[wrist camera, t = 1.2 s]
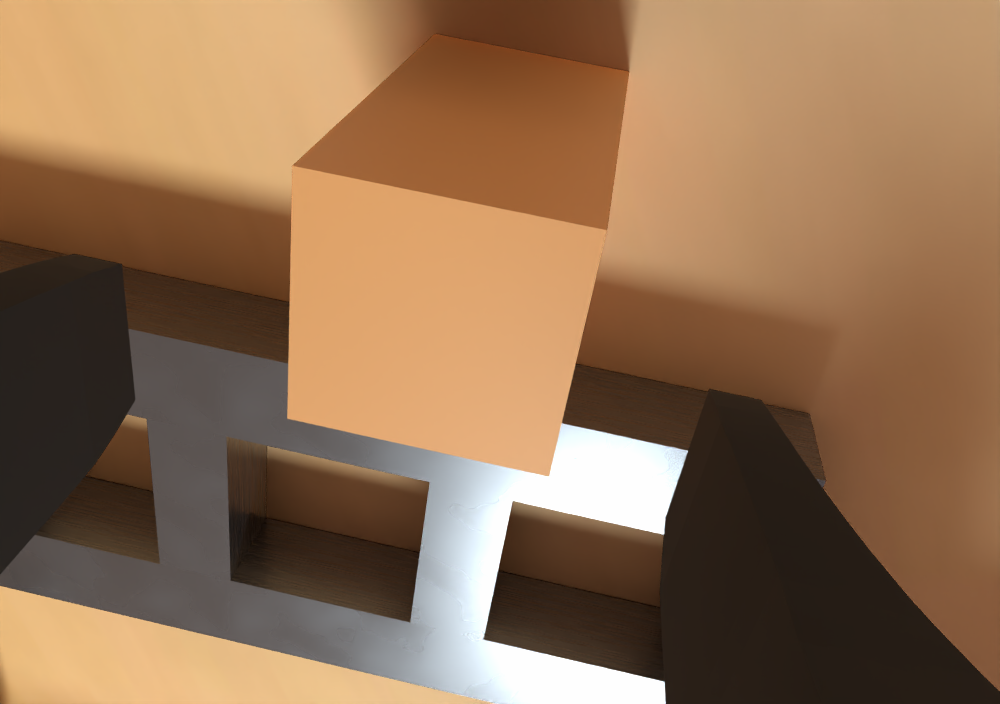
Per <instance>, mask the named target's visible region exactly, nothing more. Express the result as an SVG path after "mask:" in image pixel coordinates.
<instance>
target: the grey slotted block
mask: <svg viewBox="0 0 1000 704" xmlns="http://www.w3.org/2000/svg"><path fill="white" fill-rule="evenodd" d="M62 256H67V255H65V254H60V253H56V252H51V251H46V250H42V249H37V248H32V247H28V246H23V245H18V244H14V243H9V242H4V241H0V273H1V272H4V271H8V270H11V269H15V268H18V267H22V266H25V265H29V264H33V263H36V262H40V261H44V260H48V259H52V258H57V257H62ZM122 270H123V280H124V290H125V300H126V310H127V320H128V330H129V340H130V350H131V360H132V370H133V380H134V390H135V402H134V403H133V405H132V406H131V408H130V410H129V411H128V413H127V414H128V415H132V416H137V417H141V418H146V419H147V427H148V438H149V449H150V461H151V472H152V483H153V492H151V491H146V490H142V489H138V488H133V487H129V486H125V485H120V484H116V483H111V482H107V481H103V480H98V479H94V478H90V477H84V478H83V479H82V480H81V482H80V483H79V484H78V485H77V486H76V488H75V489H74V490H73V491H72V492H71V493H70V495H69V496H68V497H67V498H66V499H65V500H64V502H63V503H62V504H61V505H60V506H59V508H58V509H57V510H56V511H55V512H54V513H53V515H52V516H51V517H50V518H49V519H48V520H47V521H46V523H45V524H44V525H43V526H42V527H41V528H40V529H39V531H38V532H37V533H36V534H35V535H34V536H33V538H32V539H31V540H30V541H29V542H28V543H27V544H26V546H25V547H24V548H23V549H22V550H21V551H20V553H19V554H18V555H17V556H16V557H15V558H14V559H13V561H12V562H11V563H10V564H9V565H8V566H7V567H6V569H5V570H4V571H3V572H2V573H1V574H0V586H3V587H7V588H12V589H16V590H20V591H24V592H29V593H33V594H37V595H41V596H45V597H50V598H54V599H58V600H62V601H66V602H71V603H75V604H79V605H83V606H87V607H92V608H96V609H100V610H104V611H108V612H113V613H117V614H121V615H125V616H129V617H134V618H138V619H142V620H146V621H151V622H155V623H159V624H163V625H167V626H172V627H176V628H180V629H184V630H188V631H193V632H197V633H201V634H205V635H209V636H214V637H218V638H222V639H226V640H230V641H235V642H239V643H243V644H247V645H251V646H256V647H260V648H264V649H268V650H273V651H277V652H281V653H285V654H289V655H294V656H298V657H302V658H306V659H310V660H315V661H319V662H323V663H327V664H331V665H336V666H340V667H344V668H348V669H352V670H357V671H361V672H365V673H369V674H373V675H378V676H382V677H386V678H390V679H394V680H399V681H403V682H407V683H411V684H416V685H420V686H424V687H428V688H432V689H437V690H441V691H445V692H449V693H453V694H458V695H462V696H466V697H470V698H474V699H479V700H483V701H487V702H491V703H495V704H666V702H665V685H664V667H663V649H662V629H661V609H660V608H657V607H653V606H649V605H644V604H640V603H636V602H631V601H627V600H622V599H618V598H614V597H609V596H605V595H601V594H596V593H592V592H588V591H583V590H579V589H574V588H570V587H566V586H561V585H557V584H553V583H548V582H544V581H539V580H535V579H531V578H526V577H522V576H518V575H513V574H509V573H505V572H500V571H499V566H500V561H501V556H502V552H503V547H504V542H505V537H506V533H507V528H508V523H509V518H510V514H511V509H512V504H513V501H516V502H521V503H525V504H530V505H534V506H538V507H543V508H547V509H552V510H556V511H561V512H565V513H570V514H574V515H579V516H583V517H588V518H592V519H596V520H601V521H605V522H610V523H614V524H619V525H623V526H628V527H632V528H637V529H641V530H646V531H650V532H654V533H659V534H663V535H664V528H665V517H666V514H667V511H668V508H669V505H670V502H671V499H672V496H673V493H674V491H675V488H676V485H677V482H678V479H679V476H680V473H681V470H682V467H683V464H684V461H685V458H686V455H687V452H688V449H689V447H690V444H691V441H692V438H693V435H694V432H695V429H696V426H697V423H698V420H699V417H700V414H701V411H702V408H703V406H704V403H705V400H706V397H707V394H708V392H705V391H700V390H695V389H691V388H686V387H681V386H677V385H672V384H667V383H663V382H658V381H653V380H649V379H644V378H639V377H635V376H630V375H625V374H621V373H616V372H611V371H607V370H602V369H597V368H593V367H588V366H583V365H579V364H575V369H574V373H573V377H572V381H571V386H570V390H569V394H568V398H567V403H566V407H565V411H564V415H563V420H562V424H561V428H560V432H559V436H558V441H557V445H556V449H555V453H554V458H553V462H552V466H551V470H550V475H549V477H548V476H543V475H539V474H534V473H530V472H525V471H521V470H516V469H512V468H507V467H503V466H498V465H494V464H489V463H485V462H480V461H476V460H471V459H467V458H462V457H458V456H453V455H449V454H444V453H440V452H435V451H431V450H426V449H422V448H417V447H413V446H408V445H404V444H399V443H395V442H390V441H386V440H381V439H377V438H372V437H368V436H363V435H359V434H354V433H350V432H345V431H341V430H336V429H332V428H327V427H323V426H318V425H314V424H309V423H305V422H300V421H296V420H291V419H287V409H288V358H289V308H290V303H289V302H284V301H280V300H275V299H270V298H266V297H261V296H256V295H252V294H247V293H242V292H238V291H233V290H228V289H224V288H219V287H214V286H210V285H205V284H200V283H196V282H191V281H186V280H182V279H177V278H172V277H168V276H163V275H158V274H154V273H149V272H144V271H140V270H135V269H130V268H126V267H122ZM765 406H766V407H767V409H768V410H769V411H770V413H771V414H772V416H773V417H774V419H775V420H776V422H777V423H778V424H779V426H780V427H781V429H782V430H783V432H784V433H785V435H786V436H787V438H788V439H789V441H790V442H791V444H792V445H793V446H794V448H795V449H796V451H797V452H798V454H799V455H800V457H801V458H802V460H803V461H804V462H805V464H806V465H807V467H808V468H809V470H810V471H811V473H812V474H813V475H814V477H815V478H816V480H817V481H818V482H819V484H820V485H821V487H822V488H823V487H824V484H825V482H826V479H825V475H824V471H823V466H822V462H821V458H820V454H819V450H818V446H817V442H816V438H815V434H814V430H813V426H812V422H811V418H810V414H807V413H803V412H798V411H793V410H789V409H784V408H779V407H775V406H770V405H765ZM267 446H271V447H275V448H280V449H284V450H289V451H293V452H297V453H302V454H306V455H311V456H315V457H320V458H324V459H329V460H333V461H338V462H342V463H347V464H351V465H355V466H360V467H364V468H369V469H373V470H378V471H382V472H387V473H391V474H396V475H400V476H405V477H409V478H413V479H418V480H422V481H427V482H430V483H429V490H428V498H427V505H426V512H425V519H424V527H423V534H422V541H421V548H420V553H417V552H413V551H408V550H404V549H400V548H395V547H391V546H387V545H382V544H378V543H374V542H369V541H365V540H360V539H356V538H352V537H347V536H343V535H339V534H334V533H330V532H325V531H321V530H317V529H312V528H308V527H304V526H299V525H295V524H291V523H286V522H282V521H277V520H273V519H269V518H266V458H267Z"/></svg>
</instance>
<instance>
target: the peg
mask: <svg viewBox="0 0 1000 704" xmlns="http://www.w3.org/2000/svg"><path fill="white" fill-rule="evenodd" d="M628 77H629V71H624V70H619V69H613V68H608V67H603V66H598V65H593V64H588V63H583V62H577V61H572V60H567V59H562V58H557V57H552V56H547V55H541V54H536V53H531V52H526V51H521V50H516V49H511V48H505V47H500V46H495V45H490V44H485V43H480V42H475V41H469V40H464V39H459V38H454V37H449V36H444V35H439V34H434V35H433V36H432V37H431V38H430V39H429V40H428V41H427V42H426V43H424V44H423V45H422V46H421V47H420V48H419V49H418V50H417V51H416V52H415V53H414V54H413V55H411V56H410V57H409V58H408V59H407V60H406V61H405V62H404V63H403V64H402V65H401V66H400V67H399V68H397V69H396V70H395V71H394V72H393V73H392V74H391V75H390V76H389V77H388V78H387V79H386V80H384V81H383V82H382V83H381V84H380V85H379V86H378V87H377V88H376V89H375V90H374V91H373V92H371V93H370V94H369V95H368V96H367V97H366V98H365V99H364V100H363V101H362V102H361V103H360V104H359V105H357V106H356V107H355V108H354V109H353V110H352V111H351V112H350V113H349V114H348V115H347V116H346V117H344V118H343V119H342V120H341V121H340V122H339V123H338V124H337V125H336V126H335V127H334V128H333V129H332V130H330V131H329V132H328V133H327V134H326V135H325V136H324V137H323V138H322V139H321V140H320V141H319V142H317V143H316V144H315V145H314V146H313V147H312V148H311V149H310V150H309V151H308V152H307V153H306V154H305V155H303V156H302V157H301V158H300V159H299V160H298V161H297V162H296V163H295V164H294V165H293V166H292V207H291V257H290V308H289V358H288V409H287V419H291V420H296V421H300V422H305V423H309V424H314V425H318V426H323V427H327V428H332V429H336V430H341V431H345V432H350V433H354V434H359V435H363V436H368V437H372V438H377V439H381V440H386V441H390V442H395V443H399V444H404V445H408V446H413V447H417V448H422V449H426V450H431V451H435V452H440V453H444V454H449V455H453V456H458V457H462V458H467V459H471V460H476V461H480V462H485V463H489V464H494V465H498V466H503V467H507V468H512V469H516V470H521V471H525V472H530V473H534V474H539V475H543V476H548V477H549V475H550V470H551V466H552V462H553V458H554V453H555V449H556V445H557V441H558V436H559V432H560V428H561V424H562V420H563V415H564V411H565V407H566V403H567V398H568V394H569V390H570V386H571V381H572V377H573V373H574V369H575V364H576V360H577V356H578V352H579V347H580V343H581V339H582V335H583V331H584V326H585V322H586V318H587V314H588V309H589V305H590V301H591V297H592V292H593V288H594V284H595V280H596V275H597V271H598V267H599V263H600V258H601V254H602V250H603V246H604V241H605V237H606V233H607V228H608V220H609V213H610V206H611V199H612V192H613V185H614V177H615V170H616V163H617V156H618V149H619V141H620V134H621V127H622V120H623V113H624V105H625V98H626V91H627V84H628Z"/></svg>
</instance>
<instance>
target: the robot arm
mask: <svg viewBox="0 0 1000 704" xmlns="http://www.w3.org/2000/svg"><path fill="white" fill-rule="evenodd" d="M134 402H135V390H134V380H133V370H132V360H131V350H130V340H129V330H128V320H127V310H126V300H125V290H124V280H123V270H122V264H119V263H114V262H110V261H105V260H100V259H96V258H91V257H86V256H81V255H77V254H72V255H67V256H62V257H57V258H52V259H48V260H44V261H40V262H36V263H33V264H29V265H25V266H22V267H18V268H15V269H11V270H8V271H4V272H1V273H0V574H1V573H2V572H3V571H4V570H5V569H6V567H7V566H8V565H9V564H10V563H11V562H12V561H13V559H14V558H15V557H16V556H17V555H18V554H19V553H20V551H21V550H22V549H23V548H24V547H25V546H26V544H27V543H28V542H29V541H30V540H31V539H32V538H33V536H34V535H35V534H36V533H37V532H38V531H39V529H40V528H41V527H42V526H43V525H44V524H45V523H46V521H47V520H48V519H49V518H50V517H51V516H52V515H53V513H54V512H55V511H56V510H57V509H58V508H59V506H60V505H61V504H62V503H63V502H64V500H65V499H66V498H67V497H68V496H69V495H70V493H71V492H72V491H73V490H74V489H75V488H76V486H77V485H78V484H79V483H80V482H81V480H82V479H83V478H84V477H85V476H86V474H87V473H88V472H89V471H90V470H91V468H92V467H93V466H94V465H95V463H96V462H97V460H98V459H99V457H100V456H101V454H102V453H103V451H104V450H105V448H106V447H107V445H108V444H109V442H110V441H111V439H112V438H113V436H114V435H115V433H116V431H117V430H118V428H119V426H120V425H121V423H122V421H123V420H124V418H125V416H126V415H127V413H128V411H129V410H130V408H131V406H132V405H133V403H134ZM660 609H661V629H662V649H663V667H664V685H665V702H666V704H1000V691H998V690H997V689H996V688H995V687H994V686H993V685H992V684H991V683H990V682H989V681H988V680H987V679H986V678H985V677H984V676H983V675H982V674H981V673H980V672H979V671H978V670H977V669H976V668H975V667H974V666H973V665H972V664H971V663H970V662H969V661H968V660H967V659H966V658H965V656H964V655H963V654H962V653H961V652H960V651H959V650H958V649H957V648H956V647H955V646H954V645H953V644H952V643H951V642H950V641H949V640H948V639H947V638H946V637H945V636H944V635H943V634H942V633H941V632H940V631H939V630H938V629H937V628H936V627H935V626H934V624H933V623H932V622H931V621H930V620H929V619H928V618H927V617H926V616H925V615H924V613H923V612H922V611H921V610H920V609H919V608H918V607H917V606H916V605H915V604H914V602H913V601H912V600H911V599H910V598H909V597H908V596H907V594H906V593H905V592H904V591H903V590H902V588H901V587H900V586H899V585H898V584H897V582H896V581H895V580H894V579H893V578H892V576H891V575H890V574H889V573H888V572H887V571H886V569H885V568H884V567H883V566H882V565H881V563H880V562H879V561H878V560H877V559H876V557H875V556H874V555H873V554H872V553H871V551H870V550H869V549H868V548H867V546H866V545H865V544H864V542H863V541H862V540H861V539H860V537H859V536H858V535H857V534H856V532H855V531H854V530H853V528H852V527H851V526H850V524H849V523H848V522H847V521H846V519H845V518H844V517H843V515H842V514H841V513H840V511H839V510H838V509H837V507H836V506H835V504H834V503H833V502H832V500H831V499H830V498H829V496H828V495H827V494H826V492H825V491H824V489H823V488H822V487H821V485H820V484H819V482H818V481H817V480H816V478H815V477H814V475H813V474H812V473H811V471H810V470H809V468H808V467H807V465H806V464H805V462H804V461H803V460H802V458H801V457H800V455H799V454H798V452H797V451H796V449H795V448H794V446H793V445H792V444H791V442H790V441H789V439H788V438H787V436H786V435H785V433H784V432H783V430H782V429H781V427H780V426H779V424H778V423H777V422H776V420H775V419H774V417H773V416H772V414H771V413H770V411H769V410H768V409H767V407H766V406H765V404H764V403H763V402H762V400H759V399H754V398H749V397H745V396H740V395H735V394H730V393H726V392H721V391H716V390H712V389H709V391H708V394H707V397H706V400H705V403H704V406H703V408H702V411H701V414H700V417H699V420H698V423H697V426H696V429H695V432H694V435H693V438H692V441H691V444H690V447H689V449H688V452H687V455H686V458H685V461H684V464H683V467H682V470H681V473H680V476H679V479H678V482H677V485H676V488H675V491H674V493H673V496H672V499H671V502H670V505H669V508H668V511H667V514H666V517H665V528H664V540H663V552H662V565H661V581H660Z"/></svg>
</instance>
